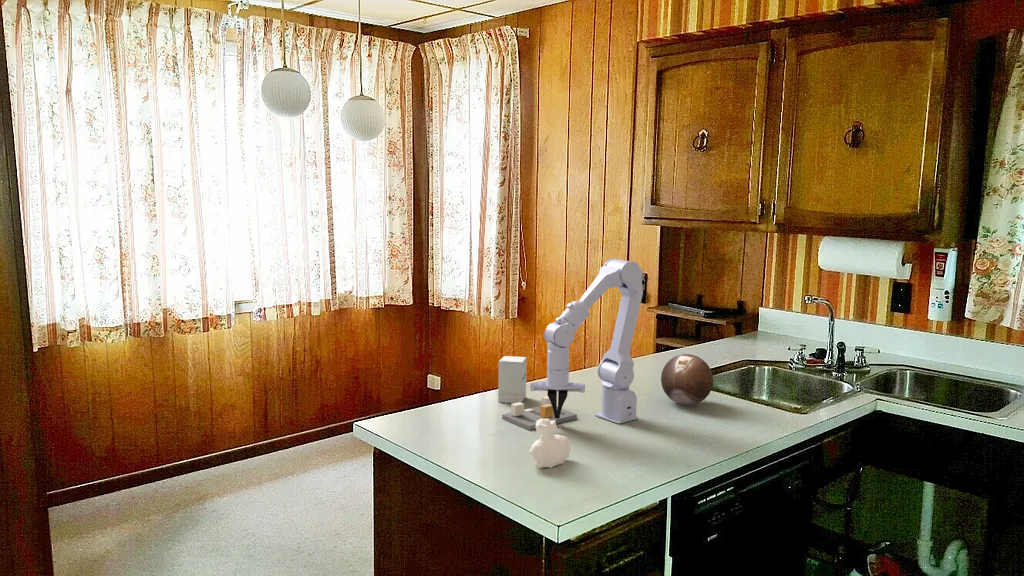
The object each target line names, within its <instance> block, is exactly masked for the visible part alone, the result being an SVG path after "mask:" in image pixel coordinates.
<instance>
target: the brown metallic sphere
mask: <svg viewBox="0 0 1024 576" xmlns="http://www.w3.org/2000/svg"><path fill="white" fill-rule="evenodd" d="M660 383H661V387H662V390H663V392H664V393H665V395H666V396H667V398H669V399H670V400H671V401H673V402H674V403H676V404H679V405H681V406H682V405H683V406H694V405H697V404H700V403H701V402H703V401H705V399H707V398H708V397H709V395H710V393H711V391H712V390H713V386H714V375H713V372H712V370H711V367H710V365H708V363H707V362H706V361H705V360H703V359H702V358H701V357H700V356H697V355H695V354H687V353H685V354H678V355H675V356H674V357H672V358H671V359H669V360H668V361H667V362H666V363H665V365H664V366H663V368H662V371H661V375H660Z"/></svg>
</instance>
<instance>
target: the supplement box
mask: <svg viewBox="0 0 1024 576" xmlns="http://www.w3.org/2000/svg"><path fill="white" fill-rule="evenodd" d="M527 362H528V359H527V356H509V355H506V356H505V355H504V356H502V358H500V359H499V361H498V374H497V375H498V380H497V381H498V383H497V384H498V386H497V387H498V388H497V389H498V391H497V399H498V400H497V402H498V403H507V404H508V403H510V404H513V403H518V402H521V403H523V402H524V400H525V399H526V397H527Z"/></svg>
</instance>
